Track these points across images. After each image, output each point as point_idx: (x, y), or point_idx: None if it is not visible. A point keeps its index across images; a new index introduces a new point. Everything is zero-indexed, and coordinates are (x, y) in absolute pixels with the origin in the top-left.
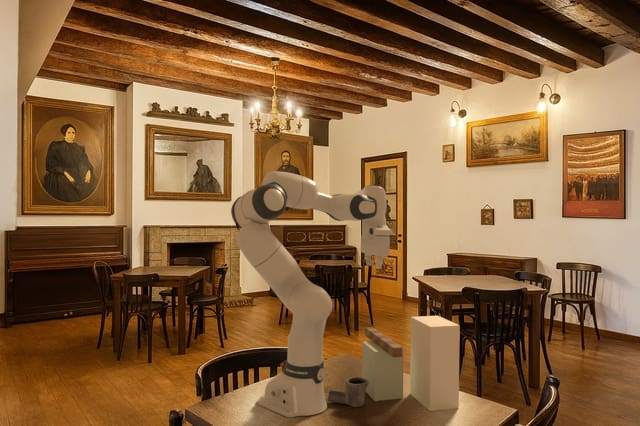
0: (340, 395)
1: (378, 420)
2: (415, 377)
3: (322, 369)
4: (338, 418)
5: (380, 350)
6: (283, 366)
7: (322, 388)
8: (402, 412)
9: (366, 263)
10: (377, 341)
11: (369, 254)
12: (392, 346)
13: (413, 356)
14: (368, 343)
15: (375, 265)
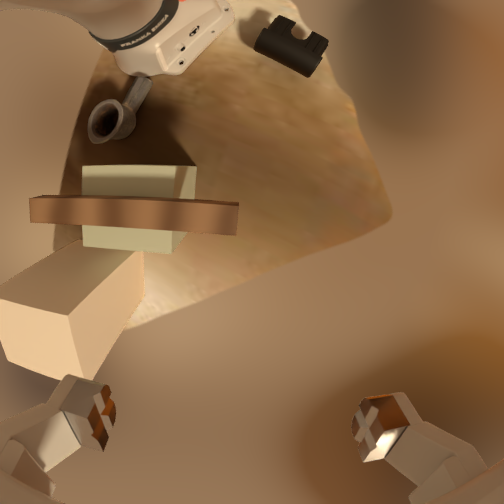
0: (126, 95)
1: (69, 145)
2: (107, 254)
3: (97, 42)
4: (93, 87)
5: (88, 184)
6: (278, 17)
7: (116, 56)
8: (81, 194)
9: (406, 401)
10: (126, 197)
11: (426, 499)
12: (37, 200)
13: (99, 269)
14: (152, 176)
15: (95, 401)
